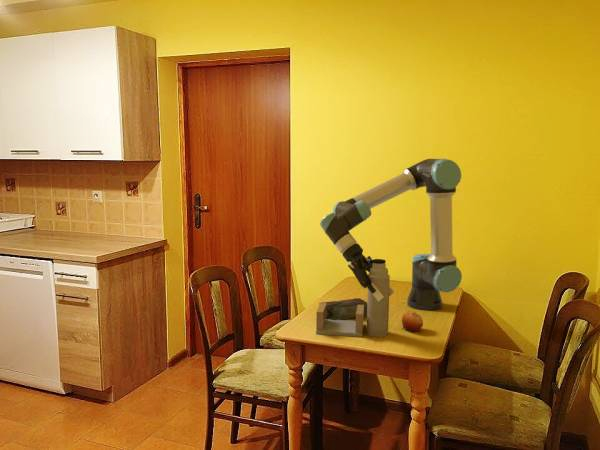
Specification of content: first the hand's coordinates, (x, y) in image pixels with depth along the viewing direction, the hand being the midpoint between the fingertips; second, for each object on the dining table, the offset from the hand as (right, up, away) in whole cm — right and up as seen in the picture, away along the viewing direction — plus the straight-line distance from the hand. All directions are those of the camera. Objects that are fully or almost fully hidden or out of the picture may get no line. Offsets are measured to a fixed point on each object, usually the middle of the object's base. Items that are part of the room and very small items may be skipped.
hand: (386, 296), depth 189 cm
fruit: (+11, -14, +8) cm, 19 cm away
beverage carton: (-14, -12, +24) cm, 30 cm away
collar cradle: (-16, -14, +8) cm, 23 cm away
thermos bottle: (-3, -14, +4) cm, 15 cm away
